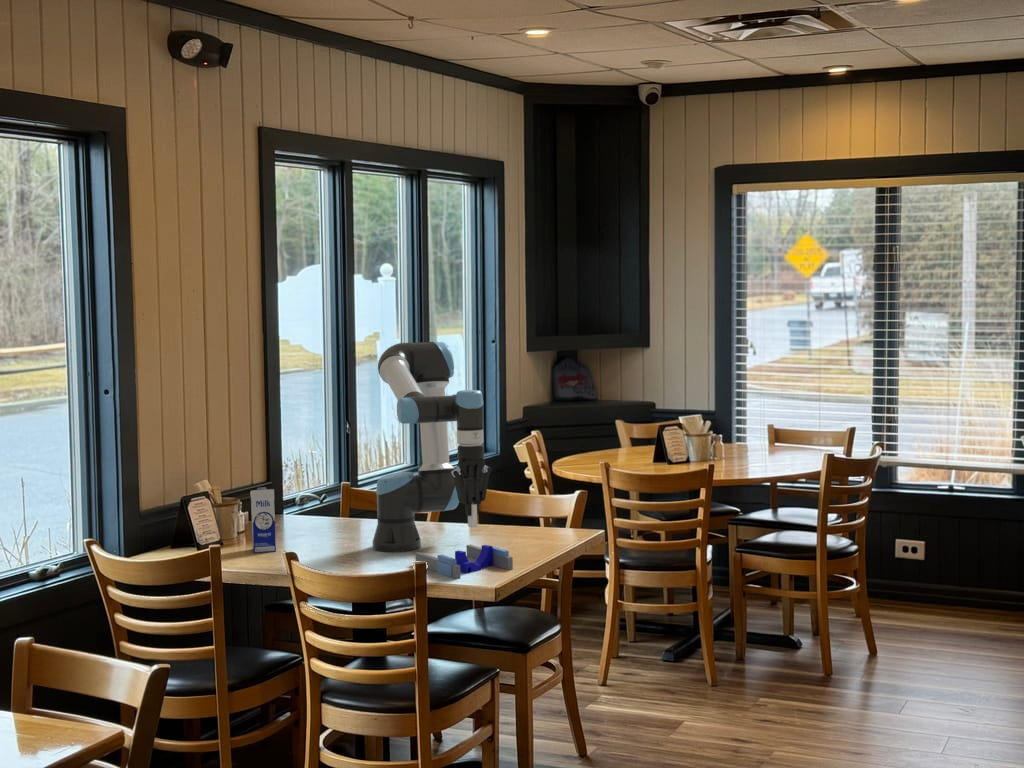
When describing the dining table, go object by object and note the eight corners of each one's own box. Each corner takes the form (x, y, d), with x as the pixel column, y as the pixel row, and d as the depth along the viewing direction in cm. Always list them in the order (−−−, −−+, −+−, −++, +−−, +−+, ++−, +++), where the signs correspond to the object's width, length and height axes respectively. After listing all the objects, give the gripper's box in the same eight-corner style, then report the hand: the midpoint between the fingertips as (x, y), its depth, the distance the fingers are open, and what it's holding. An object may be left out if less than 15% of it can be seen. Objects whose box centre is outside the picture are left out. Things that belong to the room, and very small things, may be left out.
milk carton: (253, 553, 374) (251, 489, 372) (252, 549, 380) (249, 486, 379) (276, 551, 375) (274, 488, 374) (274, 547, 382) (272, 485, 381)
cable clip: (465, 574, 339) (465, 553, 339) (455, 571, 342) (454, 551, 342) (496, 567, 348) (496, 546, 347) (485, 564, 351) (485, 544, 350)
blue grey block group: (414, 564, 352) (414, 548, 351) (470, 556, 362) (470, 539, 362) (454, 579, 333) (454, 561, 332) (512, 569, 343) (512, 552, 343)
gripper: (457, 447, 334) (459, 531, 335) (496, 443, 341) (498, 525, 342) (444, 445, 340) (446, 527, 342) (483, 441, 347) (485, 522, 349)
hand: (472, 526), depth 342 cm, fingers closed
